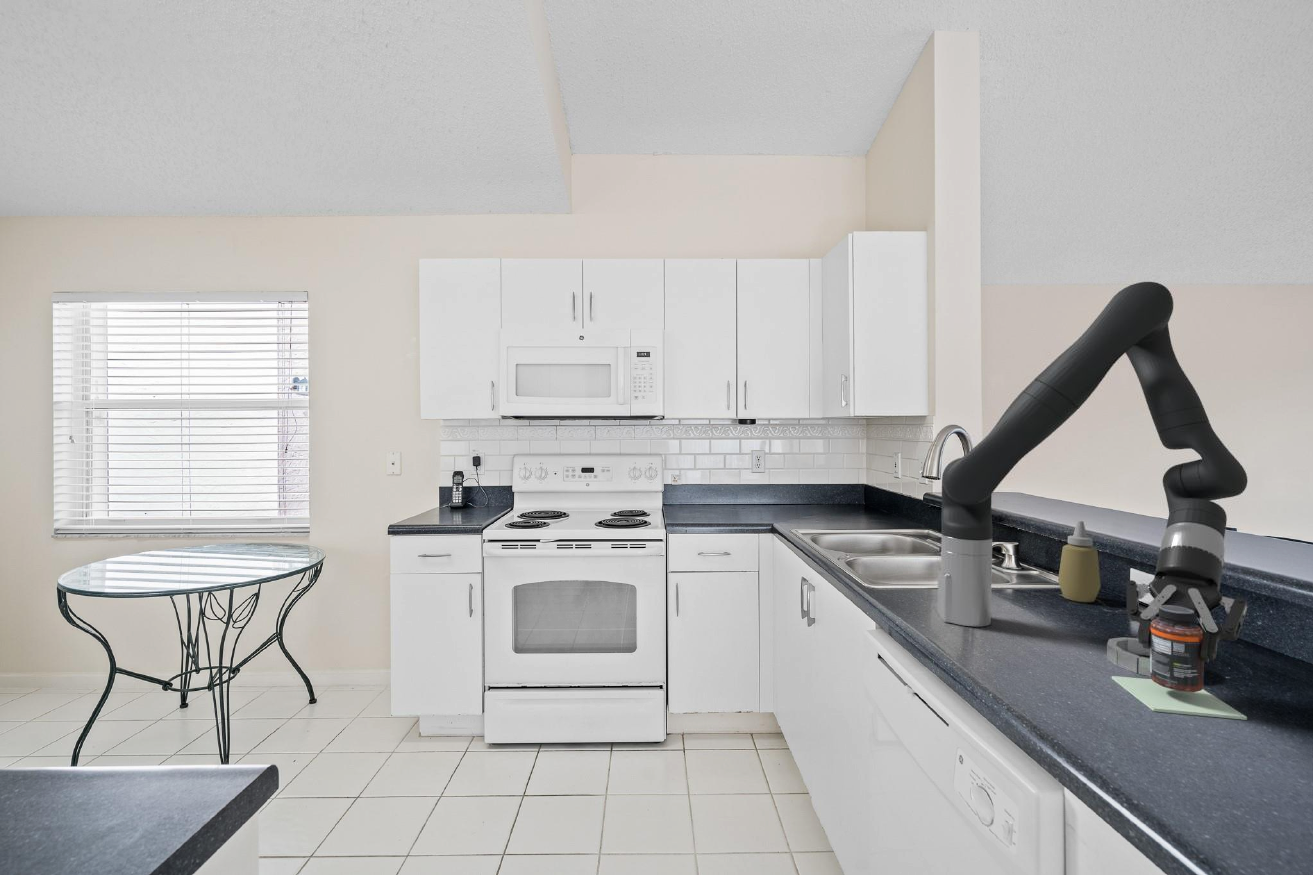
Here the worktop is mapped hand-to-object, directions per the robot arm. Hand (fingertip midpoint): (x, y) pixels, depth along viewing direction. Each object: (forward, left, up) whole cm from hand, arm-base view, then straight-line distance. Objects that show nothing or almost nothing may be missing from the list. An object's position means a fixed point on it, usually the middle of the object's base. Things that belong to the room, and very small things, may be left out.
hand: (1174, 652), depth 86 cm
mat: (+1, +1, -7) cm, 7 cm away
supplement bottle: (+1, +1, -5) cm, 6 cm away
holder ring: (+5, +14, -7) cm, 17 cm away
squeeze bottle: (+11, +54, -7) cm, 56 cm away
